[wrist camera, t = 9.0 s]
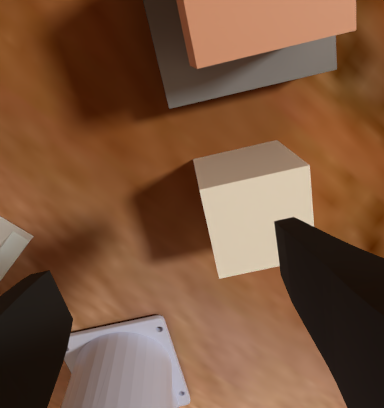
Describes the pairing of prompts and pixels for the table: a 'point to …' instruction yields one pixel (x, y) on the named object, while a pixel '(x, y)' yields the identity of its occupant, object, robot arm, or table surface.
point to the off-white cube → (251, 203)
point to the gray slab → (228, 71)
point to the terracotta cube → (258, 26)
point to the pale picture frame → (11, 244)
